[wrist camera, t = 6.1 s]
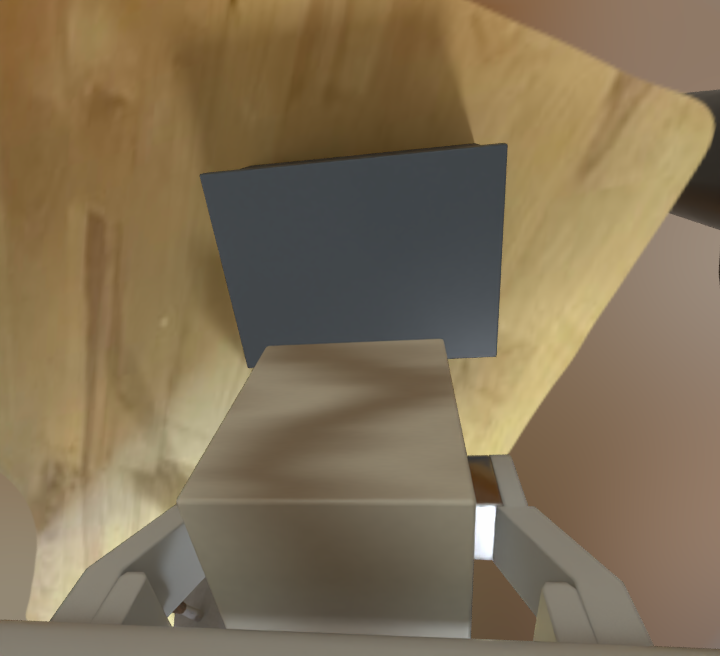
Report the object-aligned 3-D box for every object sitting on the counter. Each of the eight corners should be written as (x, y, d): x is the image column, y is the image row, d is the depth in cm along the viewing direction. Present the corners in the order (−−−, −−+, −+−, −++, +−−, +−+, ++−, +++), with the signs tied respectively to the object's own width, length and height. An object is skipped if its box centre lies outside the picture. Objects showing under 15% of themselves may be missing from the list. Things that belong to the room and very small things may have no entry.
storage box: (479, 137, 28) (508, 143, 21) (475, 307, 34) (496, 357, 27) (245, 161, 30) (198, 174, 23) (277, 319, 36) (247, 368, 29)
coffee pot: (289, 577, 51) (251, 737, 38) (198, 570, 52) (130, 725, 39) (274, 443, 42) (217, 594, 29) (163, 437, 43) (58, 581, 29)
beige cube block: (443, 337, 11) (477, 502, 6) (444, 495, 14) (468, 700, 9) (265, 344, 12) (172, 501, 7) (298, 495, 15) (247, 686, 10)
